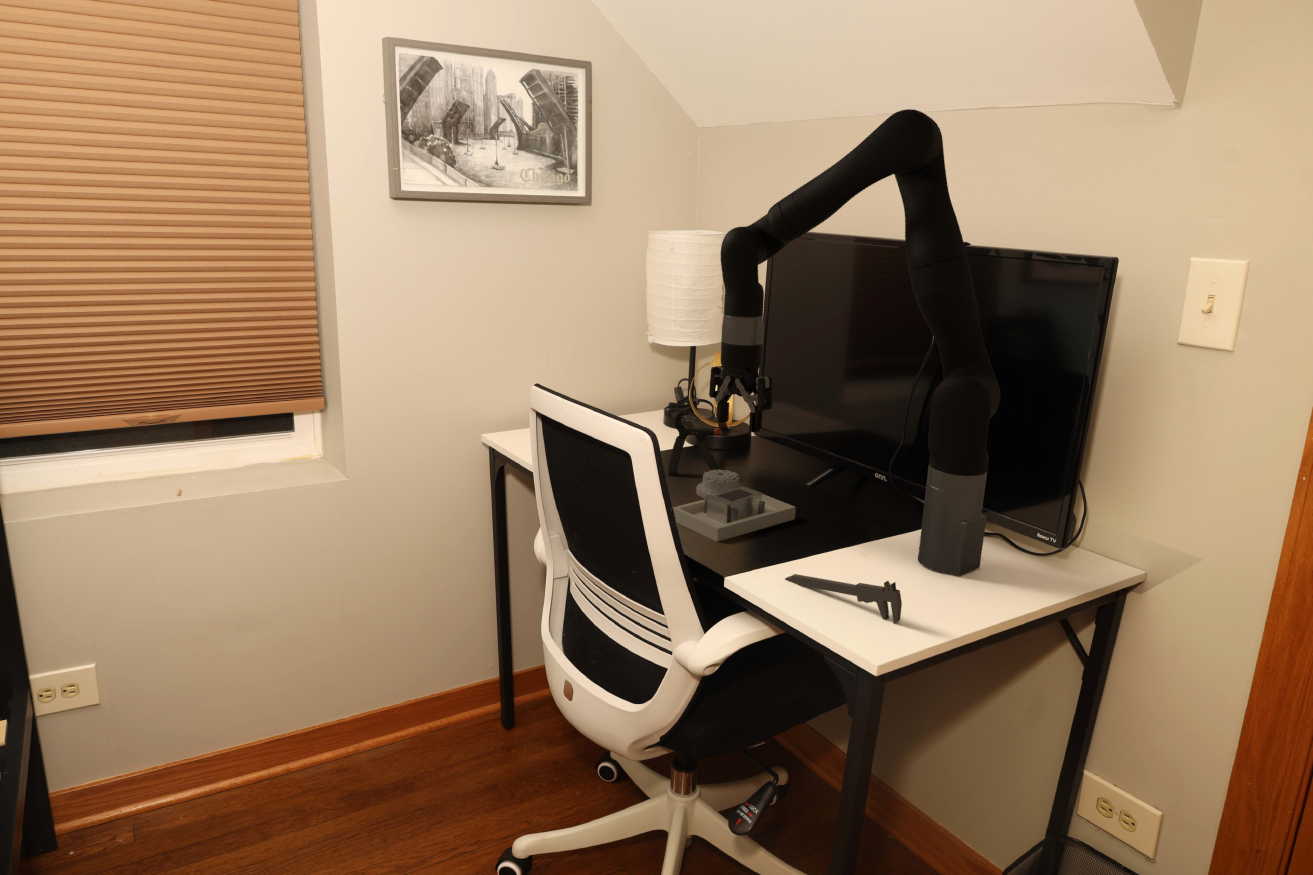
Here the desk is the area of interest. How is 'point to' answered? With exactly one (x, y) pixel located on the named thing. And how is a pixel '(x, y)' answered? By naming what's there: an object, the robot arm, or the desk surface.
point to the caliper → (858, 592)
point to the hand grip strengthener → (700, 438)
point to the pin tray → (733, 518)
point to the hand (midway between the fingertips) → (738, 426)
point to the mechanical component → (717, 482)
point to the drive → (733, 504)
